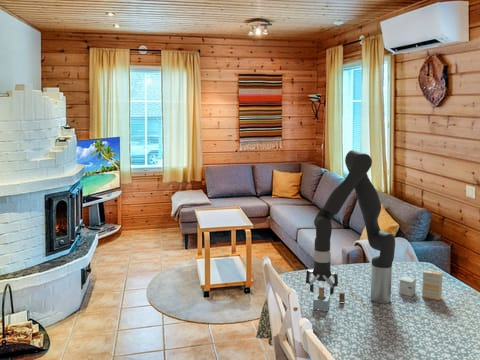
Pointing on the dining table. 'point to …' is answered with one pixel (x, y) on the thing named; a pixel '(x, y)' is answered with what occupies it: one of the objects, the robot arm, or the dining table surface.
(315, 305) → the hole block
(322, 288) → the long dowel
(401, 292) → the skincare box
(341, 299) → the short dowel
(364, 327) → the dining table surface
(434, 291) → the supplement box
